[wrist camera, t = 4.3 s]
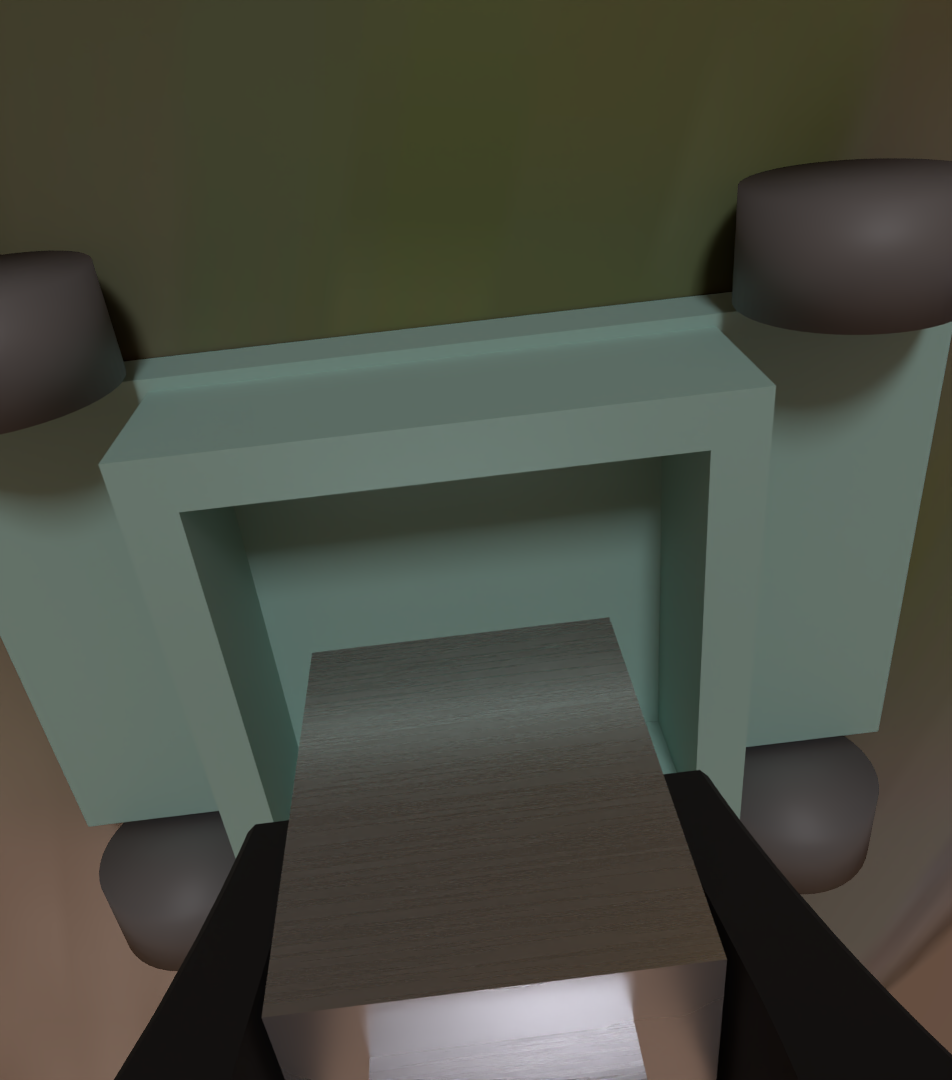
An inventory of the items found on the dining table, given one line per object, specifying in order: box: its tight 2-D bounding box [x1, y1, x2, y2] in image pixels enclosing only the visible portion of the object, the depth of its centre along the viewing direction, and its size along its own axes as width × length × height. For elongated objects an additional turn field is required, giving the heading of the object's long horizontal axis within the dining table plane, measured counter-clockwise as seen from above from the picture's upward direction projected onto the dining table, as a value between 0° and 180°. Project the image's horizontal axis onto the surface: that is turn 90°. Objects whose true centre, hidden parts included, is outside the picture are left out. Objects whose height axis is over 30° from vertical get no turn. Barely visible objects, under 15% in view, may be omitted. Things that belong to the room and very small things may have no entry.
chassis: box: [0, 159, 952, 971], centre depth 15 cm, size 16×13×4 cm
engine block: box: [262, 617, 727, 1080], centre depth 10 cm, size 4×4×6 cm
